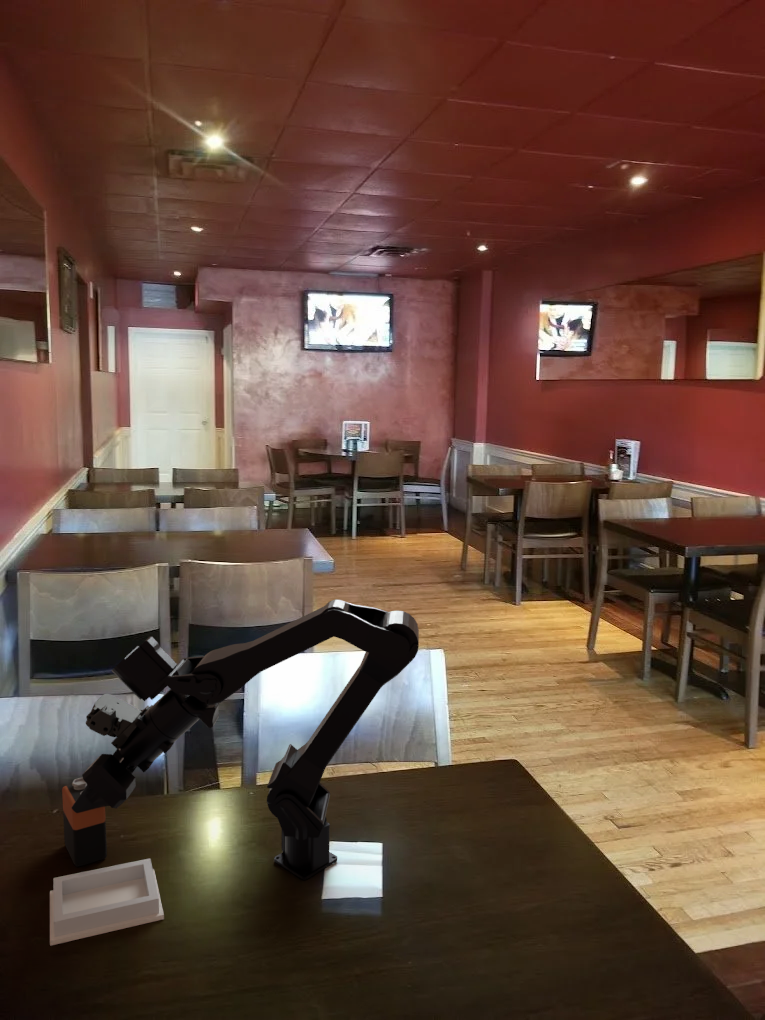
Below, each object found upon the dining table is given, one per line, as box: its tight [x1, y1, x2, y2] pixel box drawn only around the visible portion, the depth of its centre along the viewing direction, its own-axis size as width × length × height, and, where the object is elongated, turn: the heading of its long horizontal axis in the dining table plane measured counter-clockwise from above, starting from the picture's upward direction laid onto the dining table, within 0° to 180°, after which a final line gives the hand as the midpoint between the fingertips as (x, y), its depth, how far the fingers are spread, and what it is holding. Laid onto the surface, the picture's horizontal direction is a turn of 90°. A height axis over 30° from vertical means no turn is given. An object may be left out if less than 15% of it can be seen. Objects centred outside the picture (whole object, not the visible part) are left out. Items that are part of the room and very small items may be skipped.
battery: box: [61, 777, 108, 868], centre depth 111 cm, size 4×7×10 cm, turn 34°
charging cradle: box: [49, 858, 165, 947], centre depth 100 cm, size 13×10×3 cm
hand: (88, 792), depth 110 cm, fingers open, 9 cm apart
